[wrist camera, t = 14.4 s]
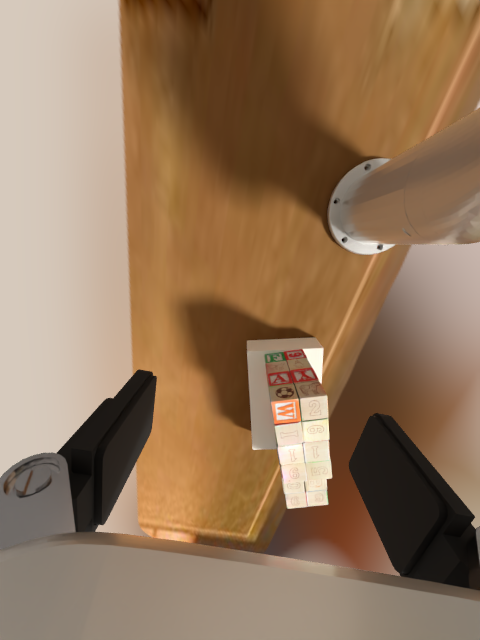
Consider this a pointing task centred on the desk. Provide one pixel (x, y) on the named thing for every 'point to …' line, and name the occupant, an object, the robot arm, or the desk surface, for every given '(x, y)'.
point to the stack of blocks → (299, 427)
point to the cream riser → (259, 387)
